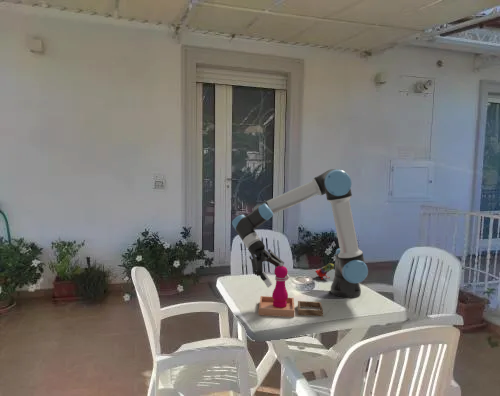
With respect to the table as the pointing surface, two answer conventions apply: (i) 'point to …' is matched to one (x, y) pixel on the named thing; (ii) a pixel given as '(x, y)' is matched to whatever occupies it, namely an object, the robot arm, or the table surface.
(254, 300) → the table surface
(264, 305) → the terracotta tray
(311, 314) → the small wooden tray
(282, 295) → the pepper mill
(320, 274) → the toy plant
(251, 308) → the table surface
